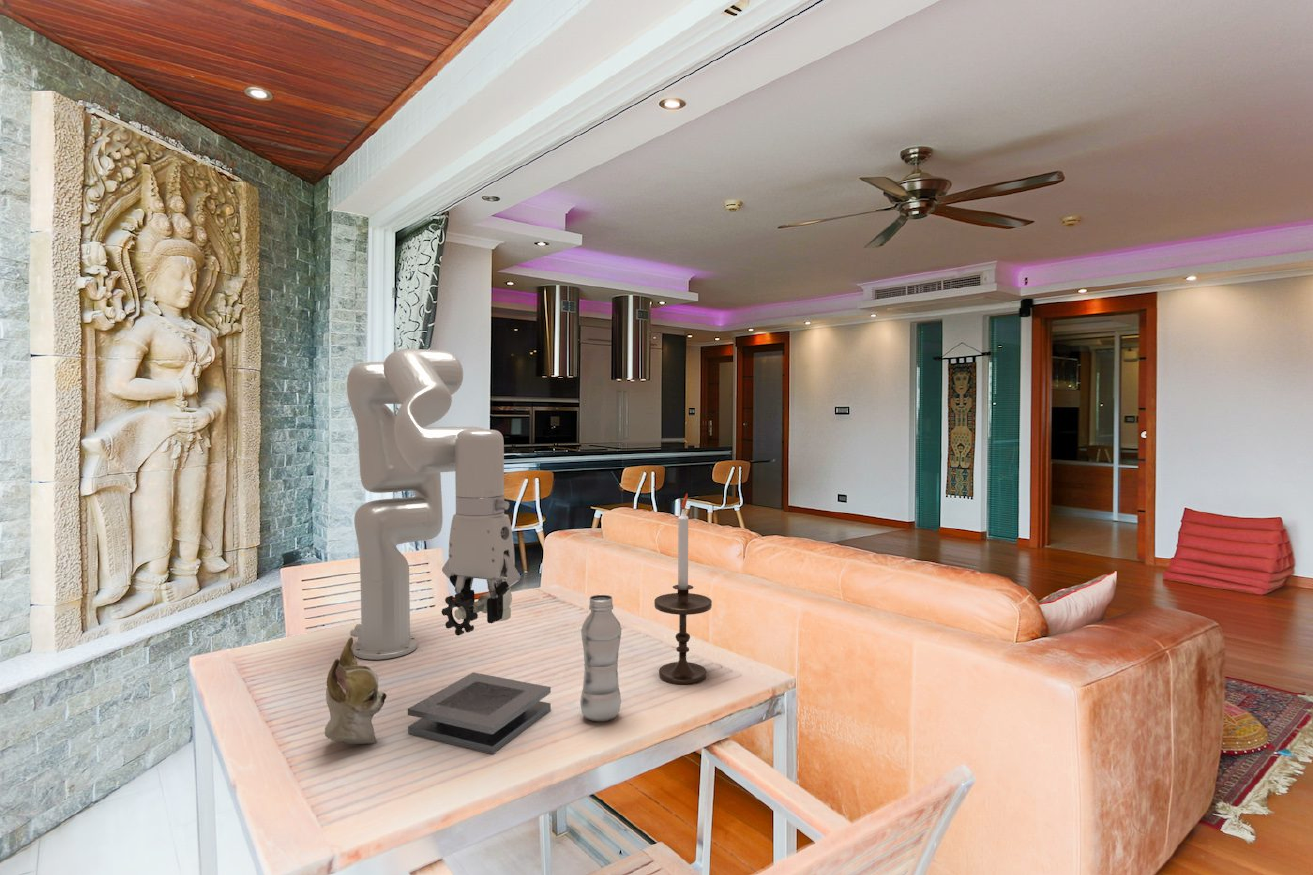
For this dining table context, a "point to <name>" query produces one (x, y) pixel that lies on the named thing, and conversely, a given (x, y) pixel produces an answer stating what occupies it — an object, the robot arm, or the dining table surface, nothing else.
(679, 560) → the candlestick
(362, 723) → the ceramic sculpture
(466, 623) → the valve
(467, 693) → the stand
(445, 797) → the dining table surface
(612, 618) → the plastic bottle
